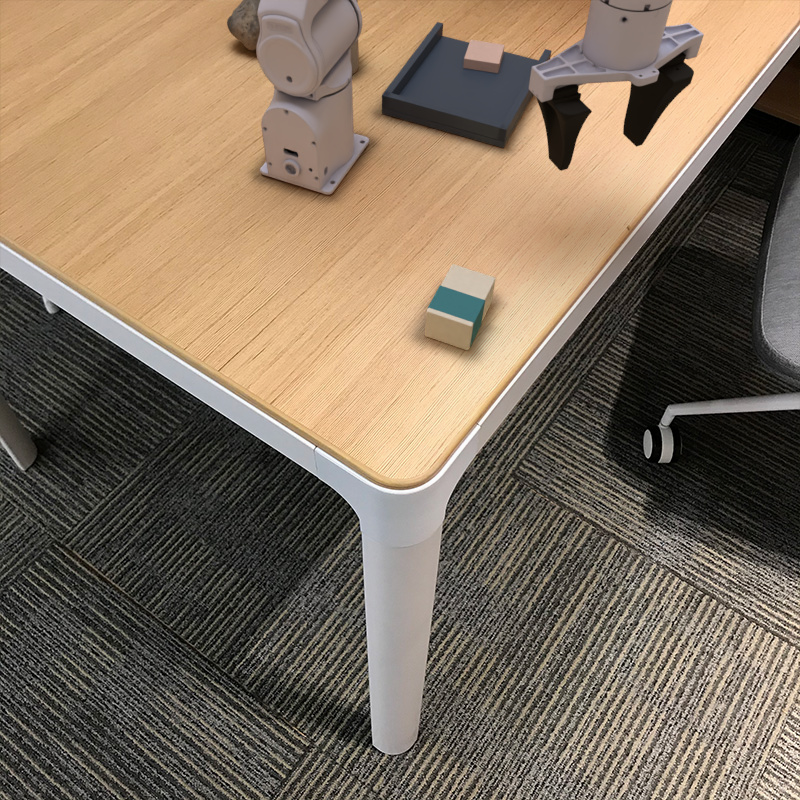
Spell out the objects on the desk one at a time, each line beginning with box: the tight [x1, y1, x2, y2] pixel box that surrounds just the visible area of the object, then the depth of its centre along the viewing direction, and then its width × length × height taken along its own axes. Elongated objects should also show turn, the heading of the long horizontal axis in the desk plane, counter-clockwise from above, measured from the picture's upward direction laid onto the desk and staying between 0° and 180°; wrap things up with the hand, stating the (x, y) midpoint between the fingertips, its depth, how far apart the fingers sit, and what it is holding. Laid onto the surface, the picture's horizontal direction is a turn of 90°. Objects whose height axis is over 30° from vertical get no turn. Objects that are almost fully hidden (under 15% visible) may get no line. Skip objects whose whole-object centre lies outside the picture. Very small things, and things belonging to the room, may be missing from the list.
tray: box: [381, 21, 552, 149], centre depth 85 cm, size 16×14×2 cm
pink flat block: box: [463, 39, 505, 73], centre depth 87 cm, size 4×4×1 cm
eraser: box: [424, 263, 497, 351], centre depth 65 cm, size 4×6×3 cm
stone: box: [226, 0, 260, 51], centre depth 88 cm, size 10×5×8 cm
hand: (595, 151), depth 66 cm, fingers open, 7 cm apart
